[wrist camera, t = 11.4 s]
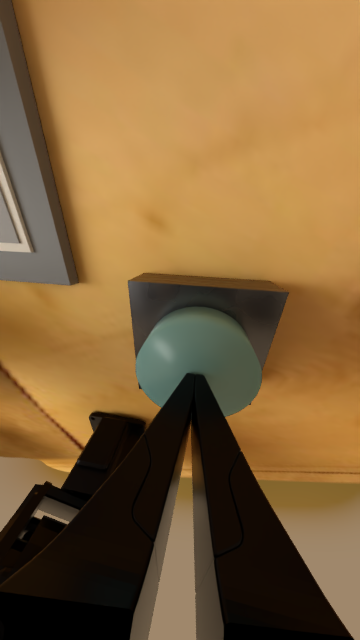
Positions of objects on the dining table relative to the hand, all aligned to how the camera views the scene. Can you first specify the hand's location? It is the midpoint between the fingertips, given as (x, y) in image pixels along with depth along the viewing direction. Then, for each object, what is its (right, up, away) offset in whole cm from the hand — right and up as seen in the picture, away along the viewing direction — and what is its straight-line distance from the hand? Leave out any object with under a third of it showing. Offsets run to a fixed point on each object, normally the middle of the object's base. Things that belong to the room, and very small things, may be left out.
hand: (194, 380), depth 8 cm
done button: (0, +1, +2) cm, 2 cm away
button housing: (+1, +2, +4) cm, 5 cm away
